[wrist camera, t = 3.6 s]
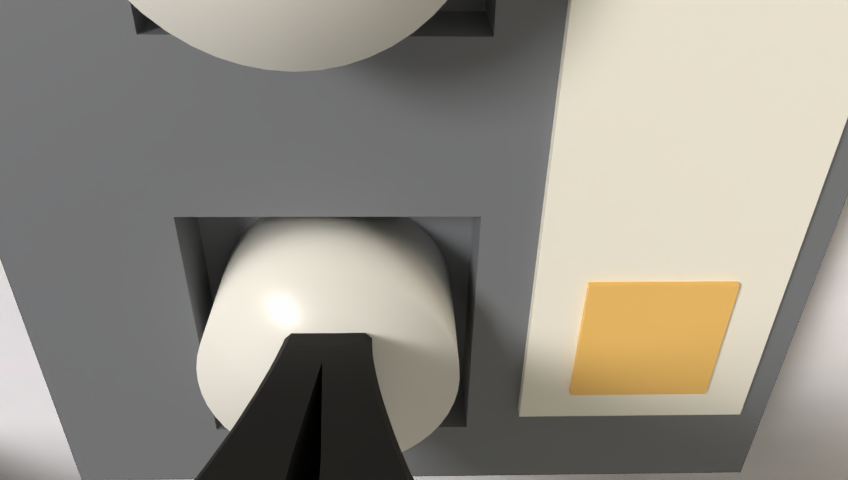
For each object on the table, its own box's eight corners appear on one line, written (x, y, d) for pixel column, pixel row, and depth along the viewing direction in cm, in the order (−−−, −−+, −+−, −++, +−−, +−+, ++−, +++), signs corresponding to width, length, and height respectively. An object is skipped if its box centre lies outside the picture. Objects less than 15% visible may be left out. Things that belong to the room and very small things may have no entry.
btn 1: (447, 374, 16) (454, 465, 14) (239, 375, 16) (216, 468, 14) (456, 195, 13) (465, 274, 11) (208, 195, 13) (175, 275, 11)
